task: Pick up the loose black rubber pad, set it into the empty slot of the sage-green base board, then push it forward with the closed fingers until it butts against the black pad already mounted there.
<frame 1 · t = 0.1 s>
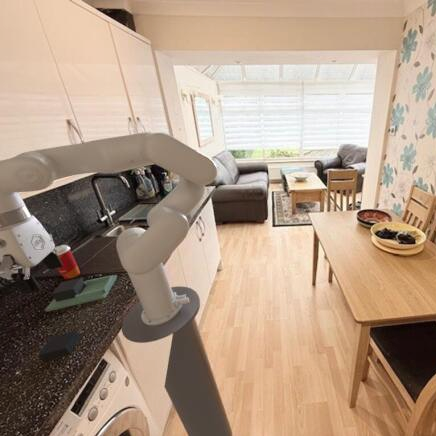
hand: (45, 278, 60), 27 cm above the countertop, tool pointing down, fingers open, 9 cm apart
base board: (84, 292, 96), on the countertop
black pad: (64, 351, 72), on the countertop
paper cup: (72, 275, 107), on the countertop
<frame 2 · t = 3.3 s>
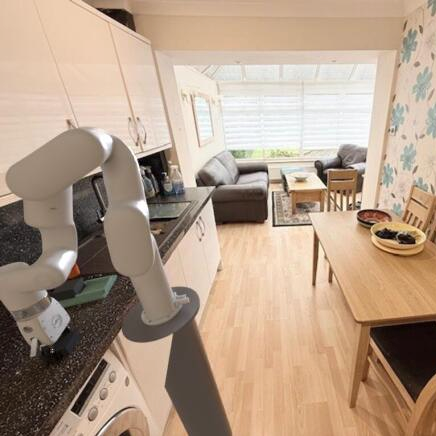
hand: (63, 349, 72), 1 cm above the countertop, tool pointing down, fingers closed on black pad, 6 cm apart
black pad: (64, 351, 72), on the countertop, touching gripper
everything else where it was.
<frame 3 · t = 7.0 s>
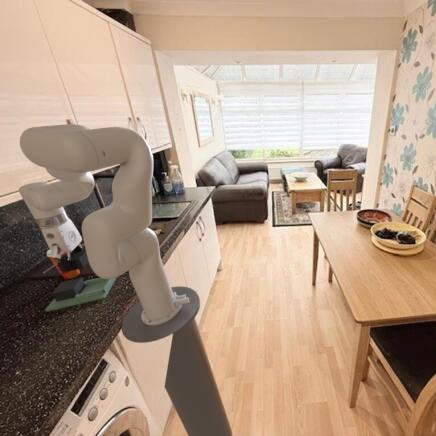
hand: (76, 263, 87), 16 cm above the countertop, tool pointing down, fingers closed on black pad, 6 cm apart
black pad: (77, 265, 87), point 15 cm above the countertop, touching gripper
everything else where it was.
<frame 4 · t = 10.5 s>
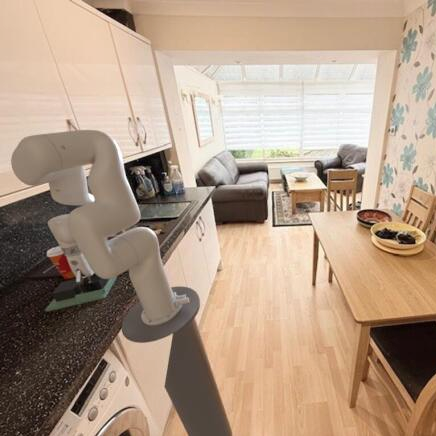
hand: (96, 284, 96), 3 cm above the countertop, tool pointing down, fingers closed on black pad, 6 cm apart
black pad: (96, 286, 96), point 2 cm above the countertop, touching gripper
everything else where it was.
when the fingers open (3 cm above the countertop, at t = 16.9 s): black pad drops 1 cm, resting on base board.
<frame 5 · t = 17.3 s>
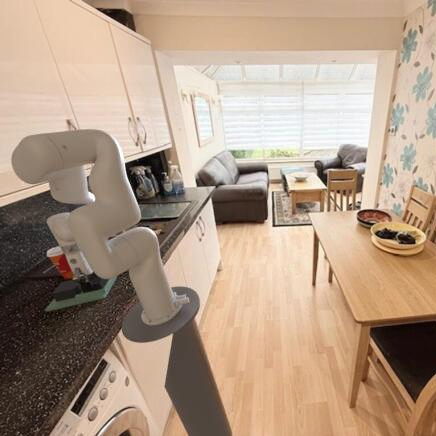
hand: (94, 281, 95), 4 cm above the countertop, tool pointing down, fingers open, 9 cm apart
black pad: (97, 287, 96), point 1 cm above the countertop, touching base board
everything else where it was.
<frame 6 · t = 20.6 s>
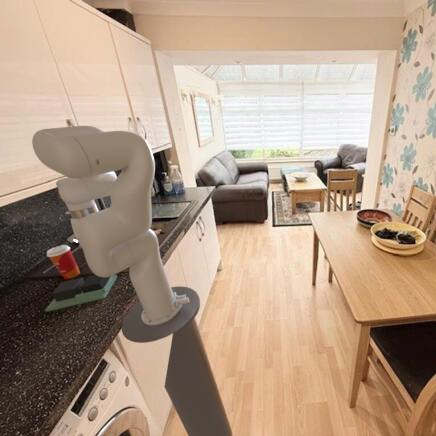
hand: (104, 252, 92), 16 cm above the countertop, tool pointing down, fingers open, 9 cm apart
nothing on the countertop moved.
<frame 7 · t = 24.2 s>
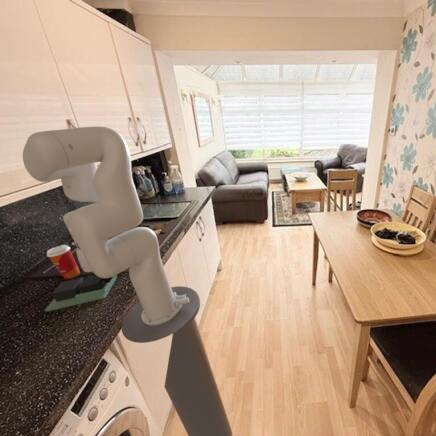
hand: (108, 280, 97), 3 cm above the countertop, tool pointing down, fingers closed
black pad: (96, 288, 96), point 1 cm above the countertop, touching gripper
everything else where it was.
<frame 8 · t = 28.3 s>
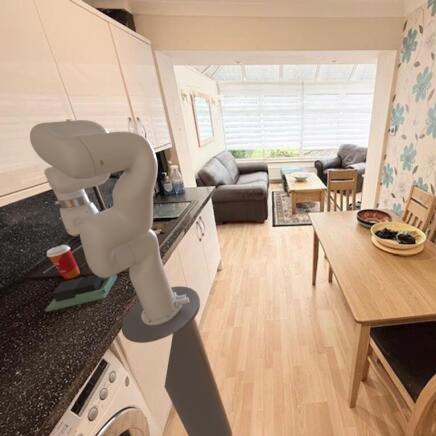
hand: (96, 246, 90), 19 cm above the countertop, tool pointing down, fingers closed
black pad: (91, 289, 96), point 1 cm above the countertop, touching base board
everything else where it was.
at the end: black pad 0.3 cm from the target spot on the base board, point 1.0 cm above the base board's base; black pad tilted 0°; the gripper is holding nothing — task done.
